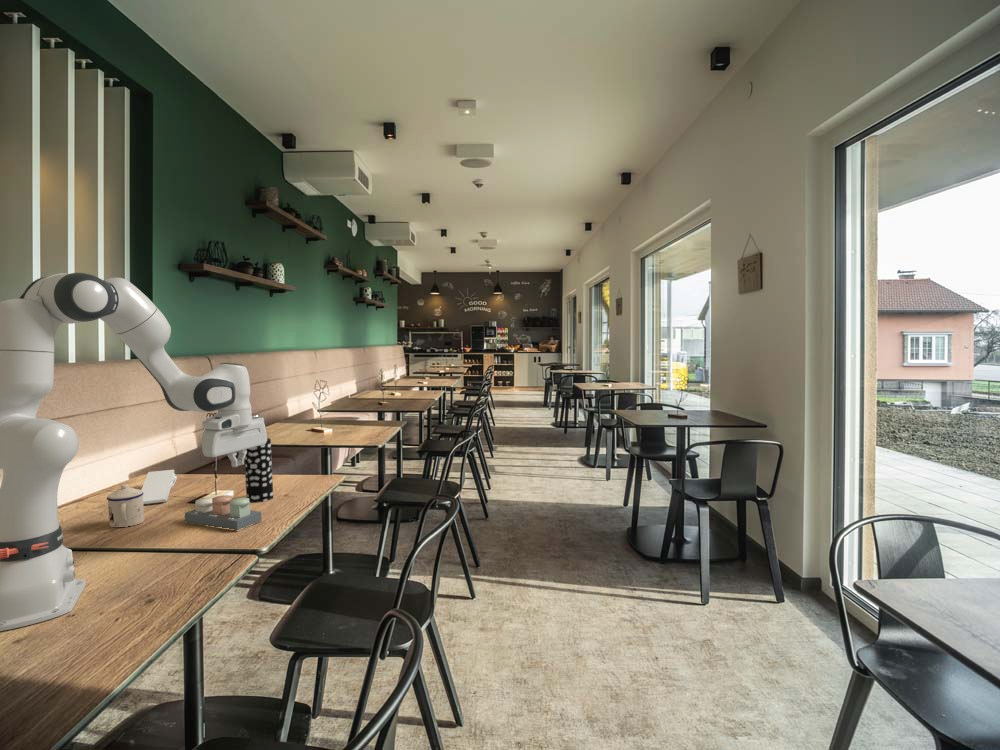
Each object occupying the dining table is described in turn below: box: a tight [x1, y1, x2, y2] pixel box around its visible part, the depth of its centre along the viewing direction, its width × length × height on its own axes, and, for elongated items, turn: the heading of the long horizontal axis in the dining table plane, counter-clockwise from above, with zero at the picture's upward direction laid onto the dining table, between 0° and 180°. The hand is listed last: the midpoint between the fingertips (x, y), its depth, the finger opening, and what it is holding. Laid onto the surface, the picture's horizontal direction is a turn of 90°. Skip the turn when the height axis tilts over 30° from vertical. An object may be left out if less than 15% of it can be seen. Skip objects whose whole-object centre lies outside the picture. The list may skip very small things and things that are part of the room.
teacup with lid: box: [106, 483, 145, 528], centre depth 167 cm, size 12×9×12 cm
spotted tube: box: [244, 437, 274, 503], centre depth 191 cm, size 8×8×20 cm
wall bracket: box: [140, 469, 178, 505], centre depth 199 cm, size 10×7×28 cm
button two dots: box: [230, 497, 251, 518], centre depth 166 cm, size 5×5×5 cm
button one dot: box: [194, 497, 213, 513], centre depth 171 cm, size 5×5×5 cm
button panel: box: [184, 508, 262, 530], centre depth 169 cm, size 21×9×3 cm, turn 67°
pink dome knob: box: [211, 494, 233, 515], centre depth 168 cm, size 5×5×5 cm
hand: (237, 465), depth 165 cm, fingers closed
